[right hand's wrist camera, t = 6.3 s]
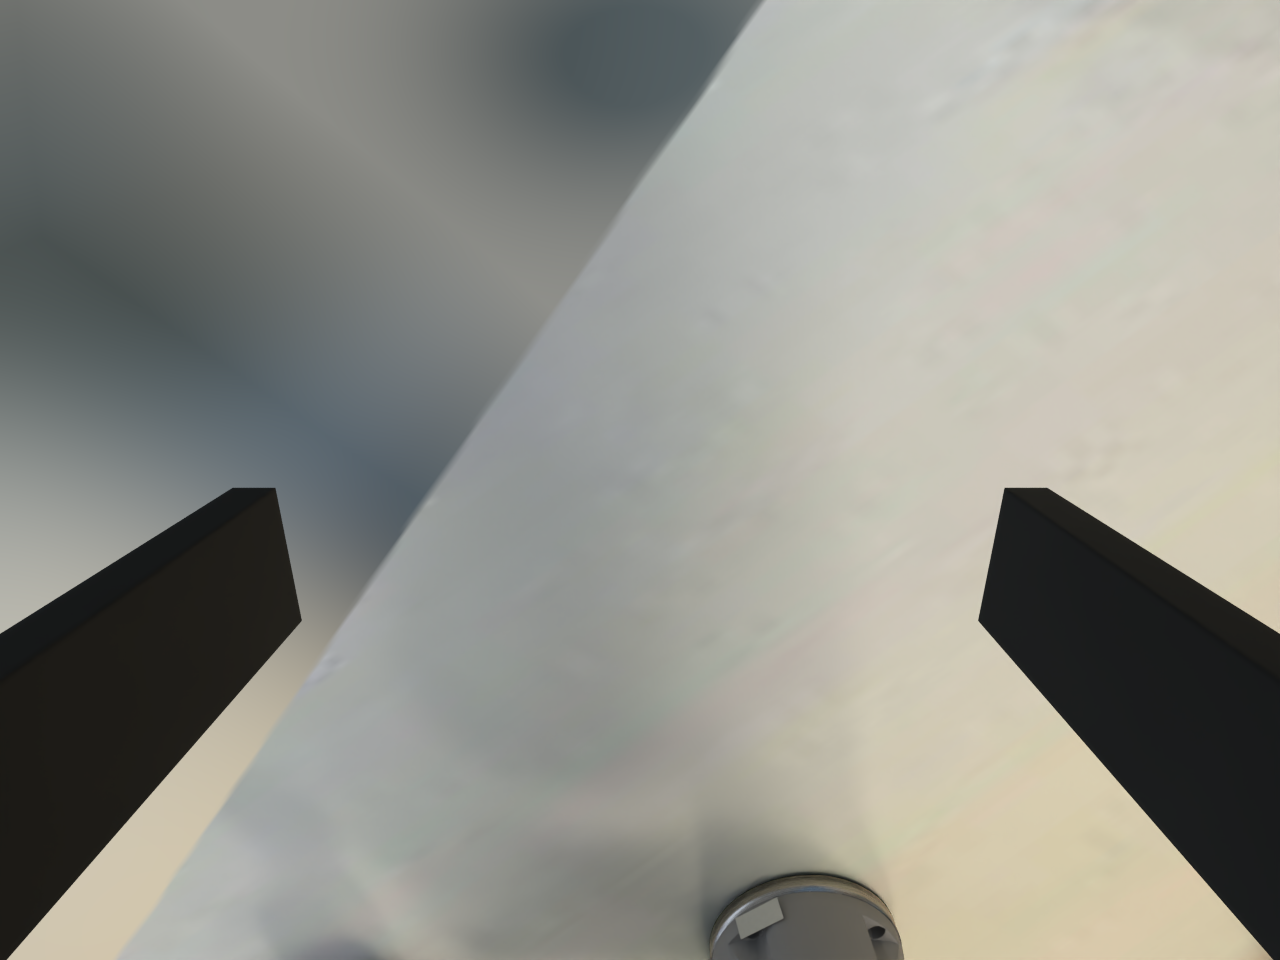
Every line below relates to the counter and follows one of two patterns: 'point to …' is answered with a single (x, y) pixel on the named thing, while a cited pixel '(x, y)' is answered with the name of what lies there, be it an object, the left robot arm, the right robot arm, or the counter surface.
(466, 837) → the counter surface
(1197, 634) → the right robot arm
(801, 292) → the counter surface
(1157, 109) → the counter surface
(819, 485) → the counter surface
